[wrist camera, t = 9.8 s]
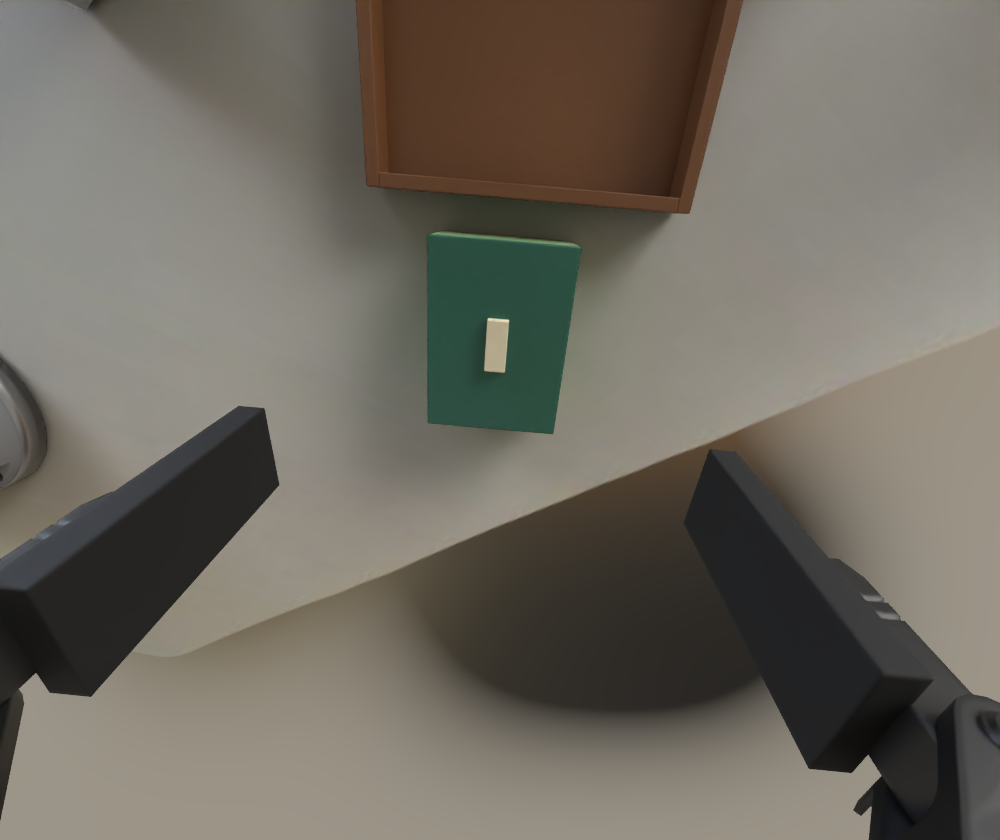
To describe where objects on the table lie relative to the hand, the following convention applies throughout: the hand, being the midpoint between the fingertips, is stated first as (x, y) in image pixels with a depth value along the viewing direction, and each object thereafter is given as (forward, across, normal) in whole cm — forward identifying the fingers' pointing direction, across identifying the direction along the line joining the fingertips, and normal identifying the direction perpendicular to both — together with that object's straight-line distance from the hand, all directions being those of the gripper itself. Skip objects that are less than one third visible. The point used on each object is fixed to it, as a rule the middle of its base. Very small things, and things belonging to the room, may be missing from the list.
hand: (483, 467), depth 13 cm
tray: (+17, +1, +15) cm, 23 cm away
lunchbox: (+15, -4, 0) cm, 15 cm away
